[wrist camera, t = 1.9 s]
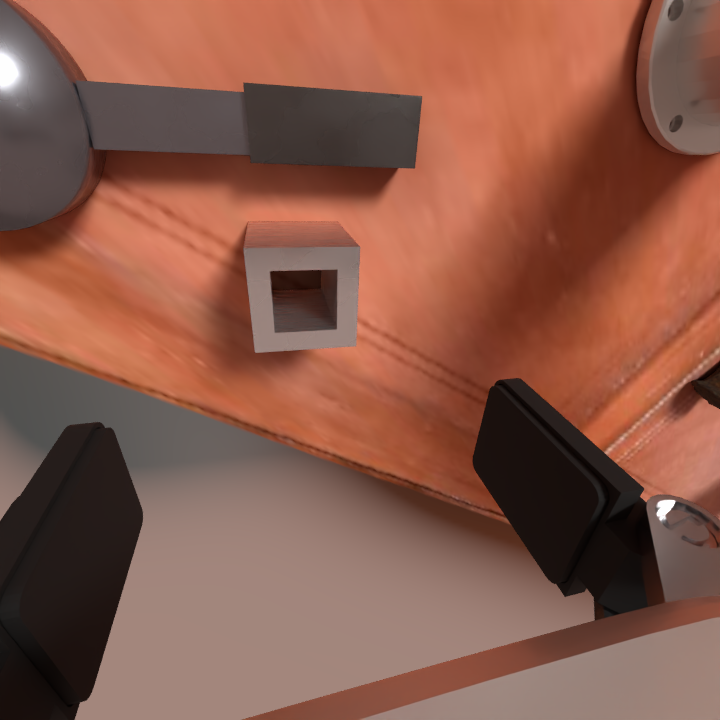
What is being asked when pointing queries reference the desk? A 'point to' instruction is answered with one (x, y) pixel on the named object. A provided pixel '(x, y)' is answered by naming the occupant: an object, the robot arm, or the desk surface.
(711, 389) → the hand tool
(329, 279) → the socket
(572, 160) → the desk surface
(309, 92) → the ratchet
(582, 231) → the desk surface
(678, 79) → the robot arm
